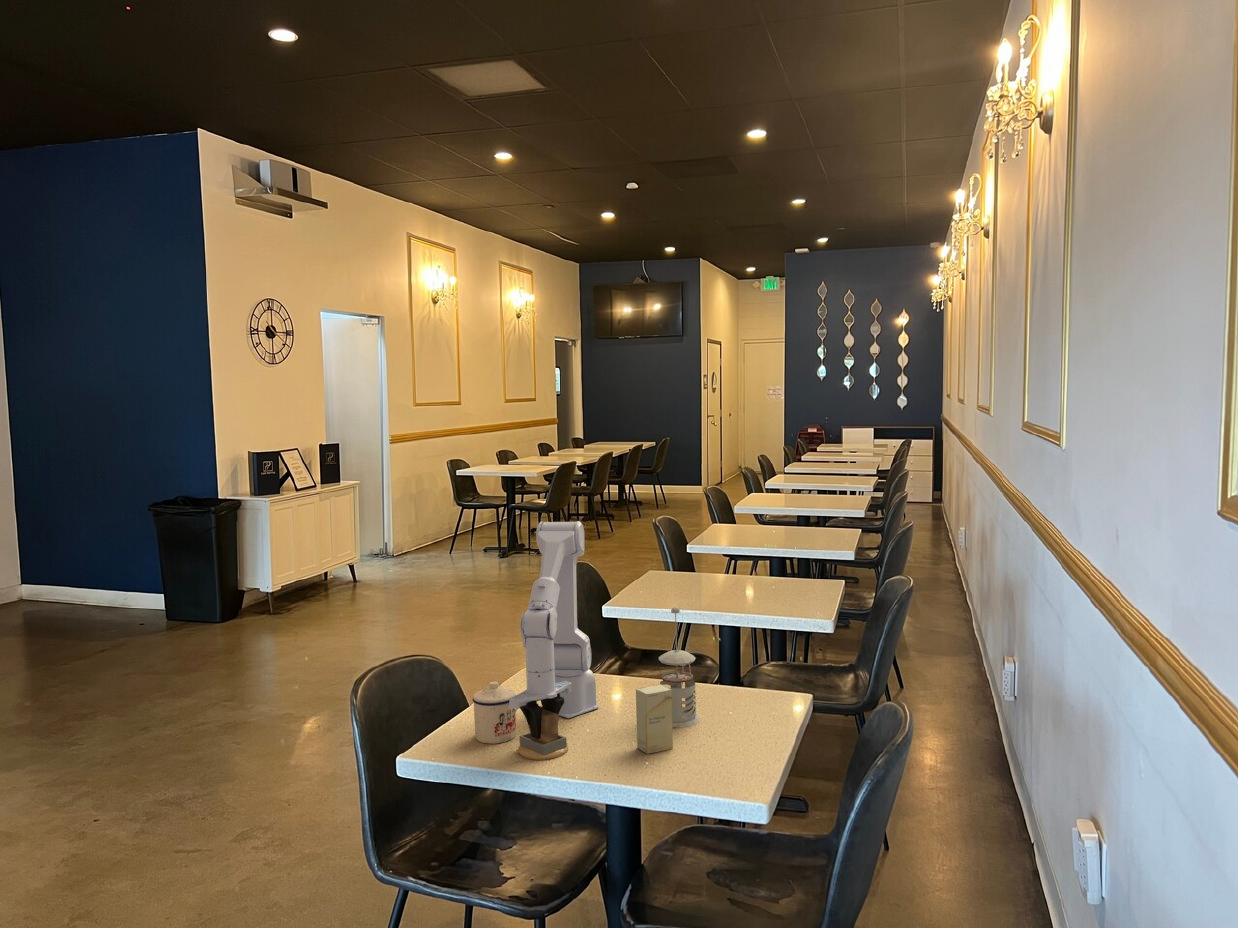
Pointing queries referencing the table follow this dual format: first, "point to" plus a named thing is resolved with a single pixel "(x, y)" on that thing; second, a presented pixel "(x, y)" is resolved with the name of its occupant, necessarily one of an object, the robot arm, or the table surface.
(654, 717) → the skincare box
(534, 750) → the grey open box
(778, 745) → the table surface
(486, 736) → the teacup with lid
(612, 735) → the table surface
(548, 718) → the brown wooden block
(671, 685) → the french press
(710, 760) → the table surface
